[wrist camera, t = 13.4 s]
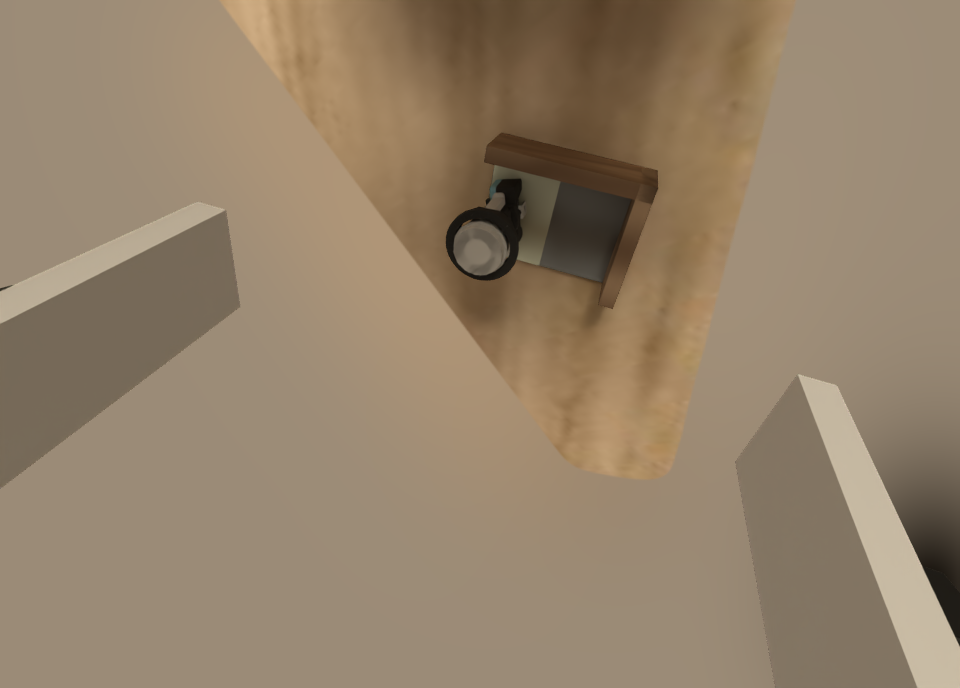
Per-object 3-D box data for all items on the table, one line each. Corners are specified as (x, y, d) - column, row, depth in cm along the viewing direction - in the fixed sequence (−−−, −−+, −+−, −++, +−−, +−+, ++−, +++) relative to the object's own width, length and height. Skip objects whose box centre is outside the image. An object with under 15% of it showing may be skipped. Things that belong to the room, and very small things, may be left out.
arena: (501, 132, 41) (486, 145, 37) (657, 170, 39) (658, 187, 35) (481, 247, 47) (467, 268, 43) (615, 284, 45) (612, 308, 42)
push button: (542, 249, 45) (519, 303, 37) (484, 249, 46) (449, 301, 38) (538, 172, 41) (511, 214, 33) (476, 175, 43) (435, 216, 35)
